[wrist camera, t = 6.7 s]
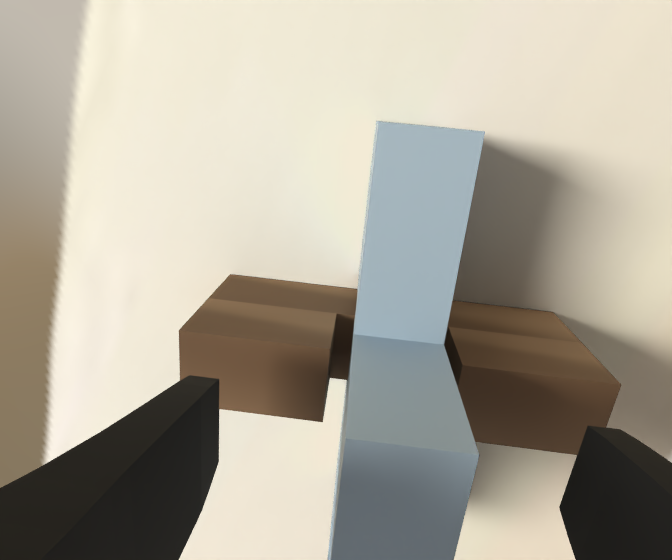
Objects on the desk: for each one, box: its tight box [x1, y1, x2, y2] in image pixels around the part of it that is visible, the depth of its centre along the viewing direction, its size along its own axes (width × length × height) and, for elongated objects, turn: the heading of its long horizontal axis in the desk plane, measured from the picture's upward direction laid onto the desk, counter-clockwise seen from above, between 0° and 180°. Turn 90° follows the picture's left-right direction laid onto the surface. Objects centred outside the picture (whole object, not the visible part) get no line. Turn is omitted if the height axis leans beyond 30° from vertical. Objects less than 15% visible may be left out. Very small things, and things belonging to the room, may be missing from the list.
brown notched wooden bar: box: [179, 274, 621, 455], centre depth 12 cm, size 2×10×4 cm, turn 85°
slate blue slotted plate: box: [328, 121, 485, 560], centre depth 11 cm, size 12×2×8 cm, turn 175°
